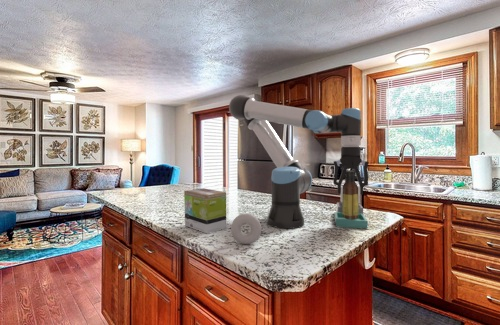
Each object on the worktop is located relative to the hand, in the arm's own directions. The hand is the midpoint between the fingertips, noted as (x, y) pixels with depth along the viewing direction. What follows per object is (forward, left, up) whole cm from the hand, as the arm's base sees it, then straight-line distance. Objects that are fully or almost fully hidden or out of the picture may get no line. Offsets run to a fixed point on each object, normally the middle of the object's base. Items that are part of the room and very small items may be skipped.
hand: (350, 201), depth 109 cm
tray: (0, 0, -9) cm, 9 cm away
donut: (-35, -35, -9) cm, 50 cm away
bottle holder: (+1, +14, -9) cm, 17 cm away
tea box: (-56, -21, -9) cm, 60 cm away
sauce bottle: (0, 0, -7) cm, 7 cm away
